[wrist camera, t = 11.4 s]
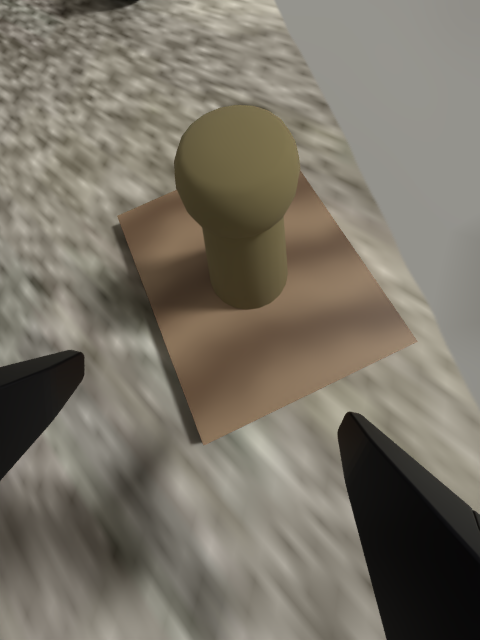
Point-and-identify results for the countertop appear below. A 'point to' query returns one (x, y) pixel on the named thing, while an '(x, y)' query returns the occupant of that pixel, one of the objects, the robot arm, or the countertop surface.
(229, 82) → the countertop surface
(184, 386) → the walnut board
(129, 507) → the countertop surface
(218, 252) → the cork
